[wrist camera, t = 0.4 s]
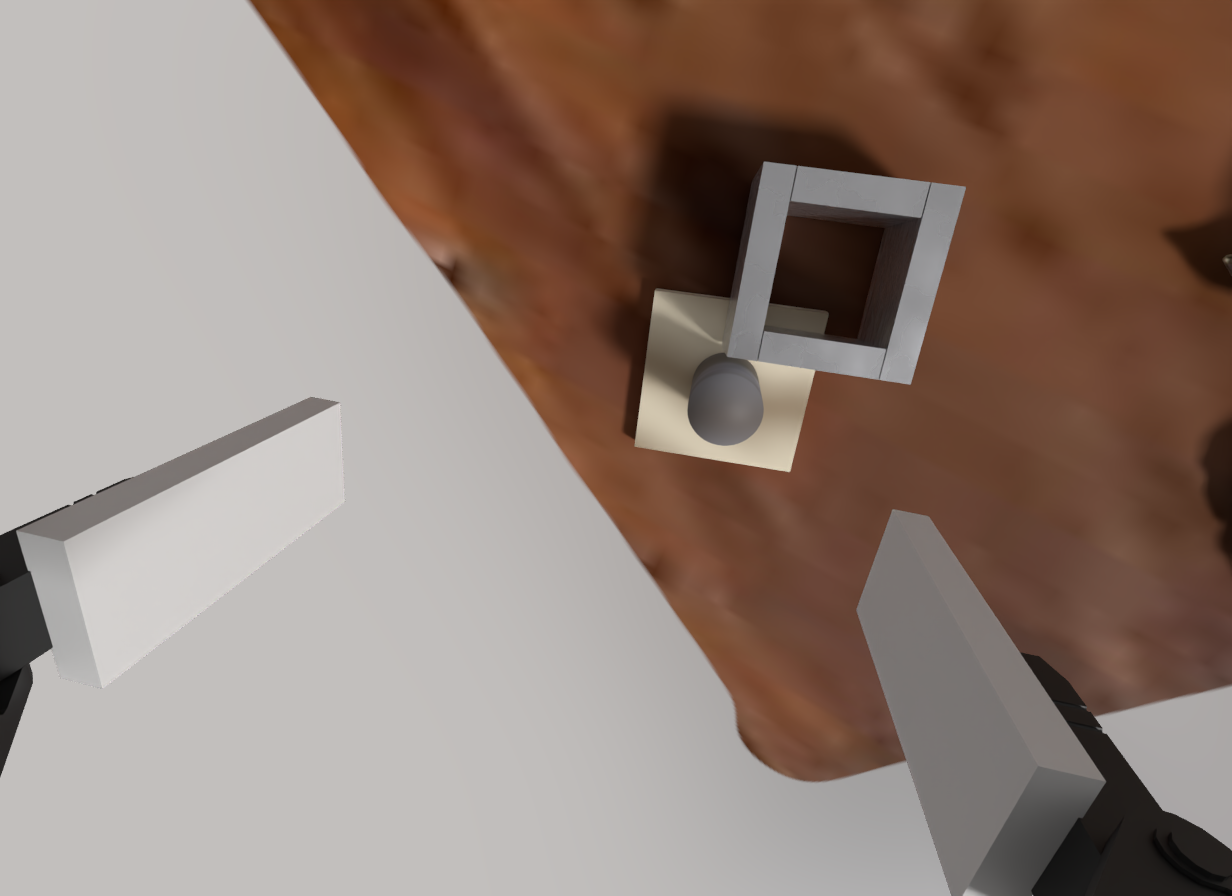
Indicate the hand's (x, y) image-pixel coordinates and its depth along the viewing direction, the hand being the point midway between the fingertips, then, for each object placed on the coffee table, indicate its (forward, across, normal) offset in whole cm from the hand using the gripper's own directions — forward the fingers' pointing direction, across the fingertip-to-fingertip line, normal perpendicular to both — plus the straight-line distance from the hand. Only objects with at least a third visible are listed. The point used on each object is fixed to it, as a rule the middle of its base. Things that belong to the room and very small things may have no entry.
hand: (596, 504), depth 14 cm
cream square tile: (+24, +4, -3) cm, 25 cm away
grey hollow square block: (+24, +7, +4) cm, 25 cm away
